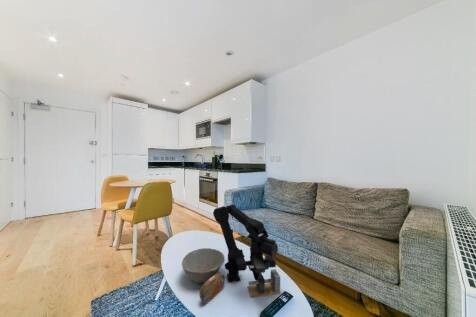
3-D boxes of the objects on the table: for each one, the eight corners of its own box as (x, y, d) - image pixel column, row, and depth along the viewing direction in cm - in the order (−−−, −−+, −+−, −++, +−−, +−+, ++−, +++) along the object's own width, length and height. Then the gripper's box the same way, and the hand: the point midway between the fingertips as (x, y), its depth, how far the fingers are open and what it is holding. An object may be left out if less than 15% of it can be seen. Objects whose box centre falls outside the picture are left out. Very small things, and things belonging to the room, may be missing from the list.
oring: (255, 284, 94) (255, 271, 94) (260, 283, 95) (260, 271, 94) (259, 293, 88) (259, 280, 88) (264, 292, 88) (264, 279, 88)
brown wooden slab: (203, 307, 81) (203, 289, 81) (198, 304, 83) (198, 286, 83) (225, 287, 93) (225, 271, 93) (220, 284, 95) (220, 268, 95)
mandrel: (246, 287, 94) (247, 271, 93) (274, 283, 97) (275, 268, 96) (250, 298, 87) (250, 281, 87) (280, 293, 90) (280, 277, 90)
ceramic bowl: (172, 280, 98) (172, 261, 98) (204, 259, 117) (204, 244, 116) (202, 300, 85) (202, 279, 85) (232, 273, 104) (232, 256, 104)
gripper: (240, 259, 80) (240, 294, 81) (281, 255, 84) (280, 289, 85) (236, 246, 91) (235, 277, 92) (271, 243, 95) (271, 273, 95)
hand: (255, 279), depth 91 cm, fingers closed
